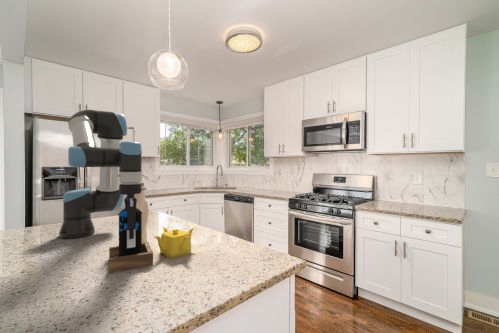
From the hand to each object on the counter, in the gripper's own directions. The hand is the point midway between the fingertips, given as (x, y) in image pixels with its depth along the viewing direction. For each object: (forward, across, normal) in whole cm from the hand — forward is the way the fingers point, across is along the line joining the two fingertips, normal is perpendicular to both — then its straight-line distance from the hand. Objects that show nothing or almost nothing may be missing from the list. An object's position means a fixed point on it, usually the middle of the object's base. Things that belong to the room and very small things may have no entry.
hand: (130, 243), depth 91 cm
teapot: (+7, -2, +17) cm, 19 cm away
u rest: (+7, 0, 0) cm, 7 cm away
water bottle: (+7, -22, +4) cm, 23 cm away
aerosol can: (+4, 0, 0) cm, 4 cm away
